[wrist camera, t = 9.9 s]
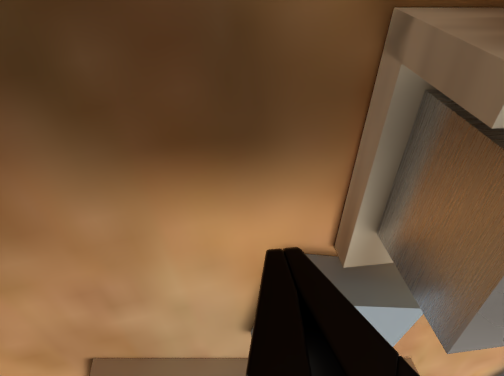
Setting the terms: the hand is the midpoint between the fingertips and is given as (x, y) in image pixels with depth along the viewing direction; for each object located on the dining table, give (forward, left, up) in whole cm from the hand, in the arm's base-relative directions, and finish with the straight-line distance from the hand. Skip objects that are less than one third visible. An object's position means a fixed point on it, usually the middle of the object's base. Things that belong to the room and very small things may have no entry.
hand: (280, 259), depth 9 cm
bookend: (-6, 0, -3) cm, 7 cm away
